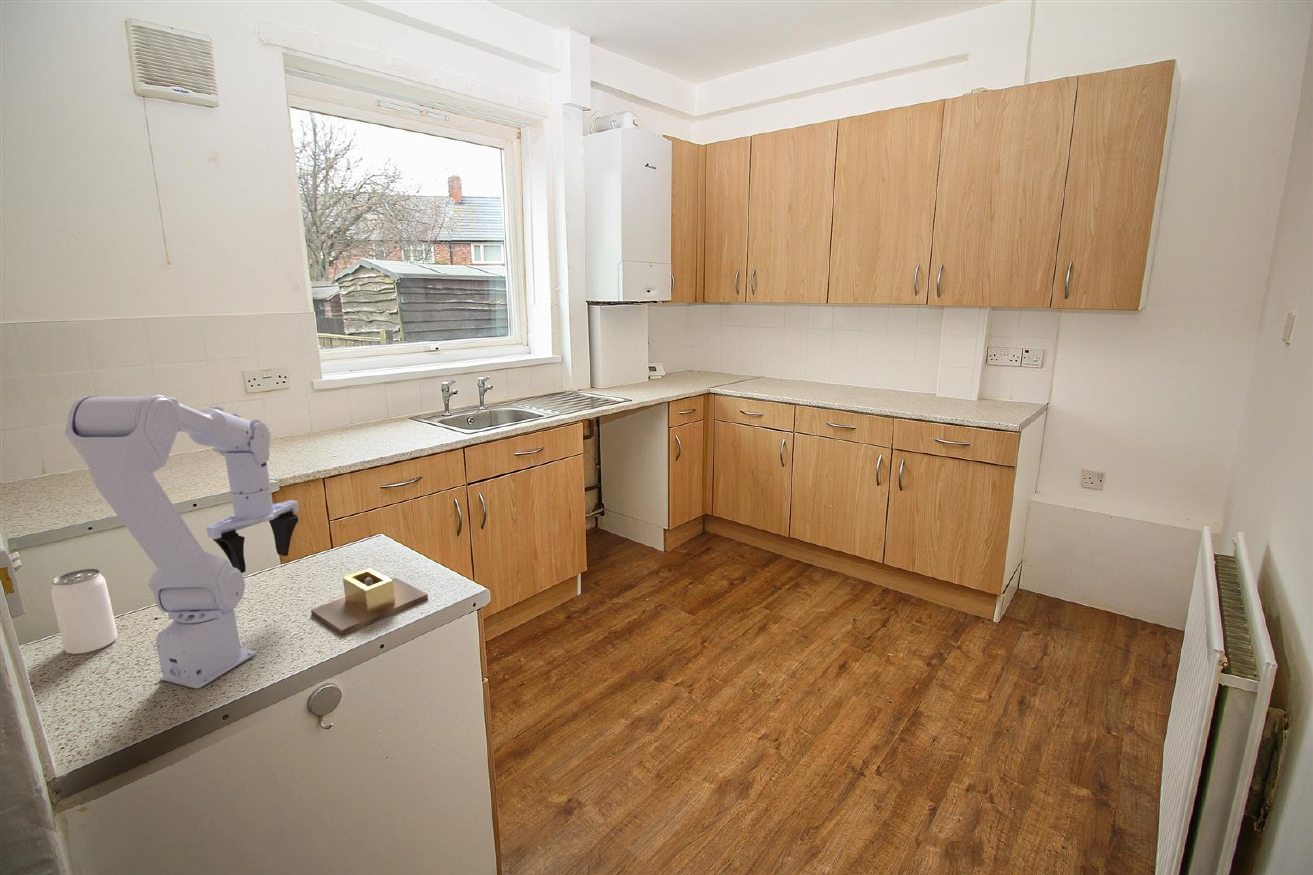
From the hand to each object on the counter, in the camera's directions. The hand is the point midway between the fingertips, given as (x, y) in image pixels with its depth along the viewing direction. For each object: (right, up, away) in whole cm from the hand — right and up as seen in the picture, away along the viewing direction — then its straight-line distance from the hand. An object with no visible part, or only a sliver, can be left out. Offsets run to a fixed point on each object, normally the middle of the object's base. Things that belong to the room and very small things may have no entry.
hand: (262, 562), depth 110 cm
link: (+17, -8, +4) cm, 19 cm away
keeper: (+17, -9, +4) cm, 20 cm away
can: (-22, -12, -8) cm, 27 cm away
